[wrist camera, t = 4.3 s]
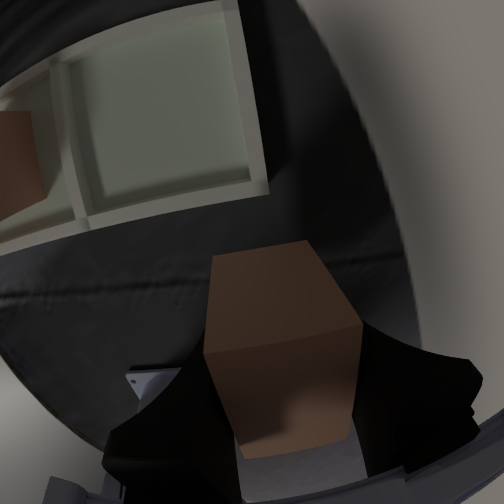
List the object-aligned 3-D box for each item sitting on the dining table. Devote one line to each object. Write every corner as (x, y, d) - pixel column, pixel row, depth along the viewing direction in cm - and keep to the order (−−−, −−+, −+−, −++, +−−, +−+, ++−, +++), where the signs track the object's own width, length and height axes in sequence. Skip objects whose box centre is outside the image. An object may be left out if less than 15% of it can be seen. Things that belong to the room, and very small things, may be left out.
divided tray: (264, 186, 17) (269, 194, 15) (1, 249, 17) (-15, 260, 14) (235, 13, 12) (236, -3, 10) (-26, 121, 12) (-44, 123, 10)
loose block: (313, 346, 15) (347, 438, 9) (238, 359, 15) (245, 459, 9) (306, 239, 12) (363, 323, 7) (213, 256, 12) (203, 353, 7)
